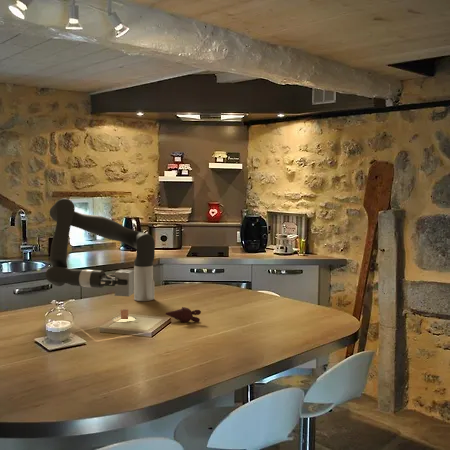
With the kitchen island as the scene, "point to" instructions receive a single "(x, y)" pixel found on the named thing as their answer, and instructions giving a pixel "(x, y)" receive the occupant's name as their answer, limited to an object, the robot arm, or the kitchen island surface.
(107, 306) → the kitchen island surface
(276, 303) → the kitchen island surface
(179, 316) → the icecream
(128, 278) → the grey block
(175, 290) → the kitchen island surface
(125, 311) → the peach dome knob
